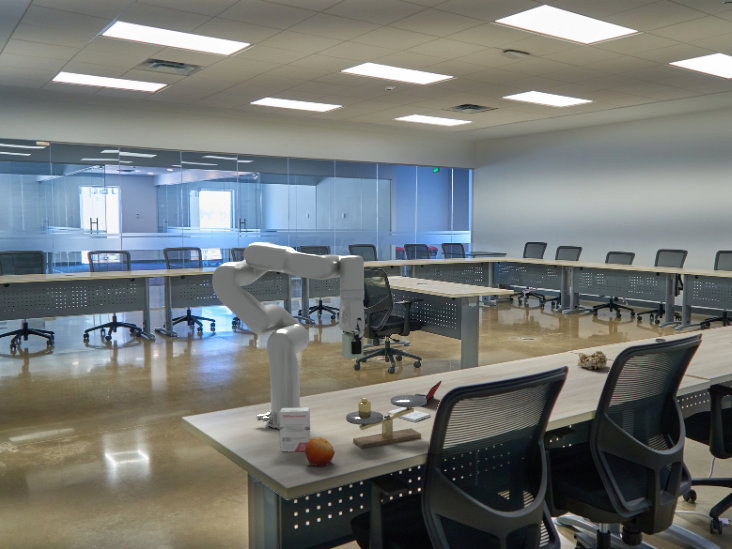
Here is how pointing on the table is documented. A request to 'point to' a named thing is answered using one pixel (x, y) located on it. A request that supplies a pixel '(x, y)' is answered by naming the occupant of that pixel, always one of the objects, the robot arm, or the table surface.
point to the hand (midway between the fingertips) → (352, 351)
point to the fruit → (319, 452)
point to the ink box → (294, 428)
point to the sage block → (349, 346)
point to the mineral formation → (592, 360)
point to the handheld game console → (431, 392)
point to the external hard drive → (411, 415)
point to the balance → (385, 421)
